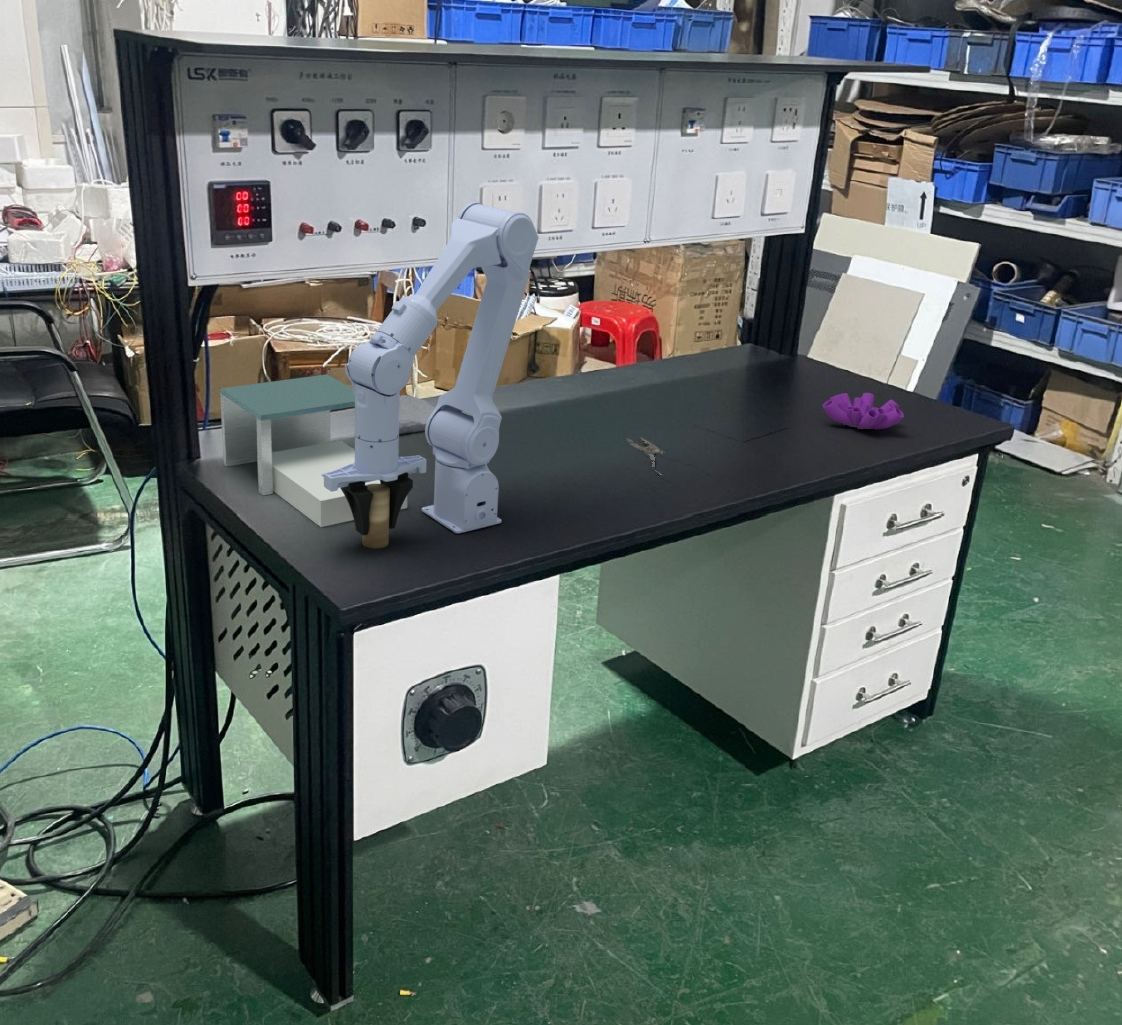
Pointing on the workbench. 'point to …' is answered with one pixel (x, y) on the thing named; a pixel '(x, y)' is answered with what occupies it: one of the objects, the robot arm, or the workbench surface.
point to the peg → (378, 517)
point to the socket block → (314, 481)
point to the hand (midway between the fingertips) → (375, 529)
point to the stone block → (413, 414)
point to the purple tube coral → (863, 411)
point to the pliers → (646, 449)
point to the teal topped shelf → (278, 419)
